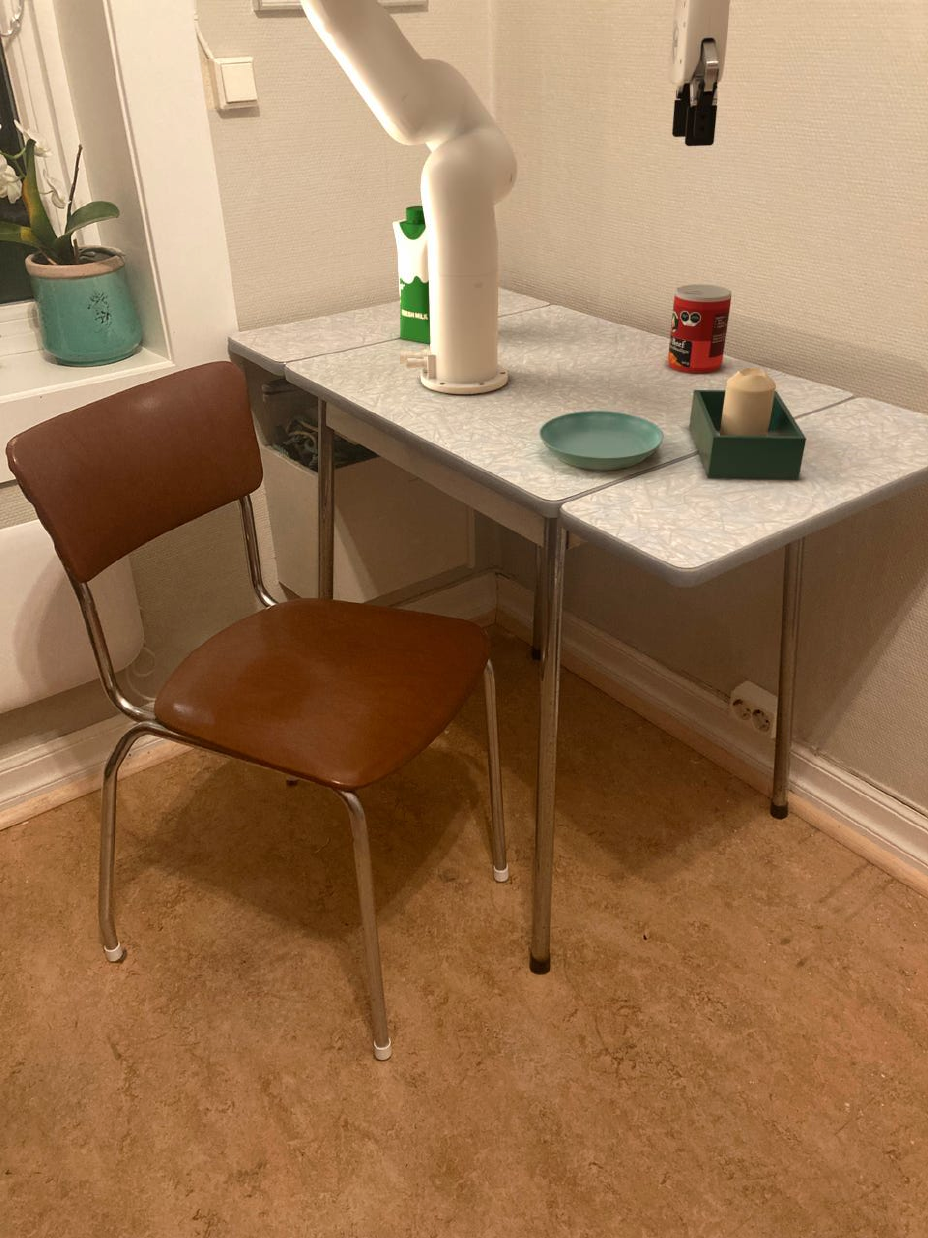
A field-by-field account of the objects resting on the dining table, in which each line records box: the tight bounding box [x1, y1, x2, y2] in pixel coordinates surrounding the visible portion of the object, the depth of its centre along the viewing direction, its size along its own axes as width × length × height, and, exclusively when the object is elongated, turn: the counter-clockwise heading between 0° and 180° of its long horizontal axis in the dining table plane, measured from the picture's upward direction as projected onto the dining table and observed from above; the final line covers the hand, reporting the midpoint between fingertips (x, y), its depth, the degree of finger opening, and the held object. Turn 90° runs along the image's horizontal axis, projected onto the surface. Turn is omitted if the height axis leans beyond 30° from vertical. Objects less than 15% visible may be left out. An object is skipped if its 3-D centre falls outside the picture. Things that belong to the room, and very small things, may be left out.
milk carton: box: [392, 205, 431, 345], centre depth 153 cm, size 9×9×20 cm
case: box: [688, 389, 807, 481], centre depth 115 cm, size 10×16×5 cm, turn 176°
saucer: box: [538, 410, 664, 471], centre depth 115 cm, size 15×15×3 cm
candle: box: [719, 367, 777, 436], centre depth 113 cm, size 6×6×10 cm
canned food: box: [667, 283, 732, 374], centre depth 141 cm, size 8×8×11 cm
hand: (691, 140), depth 114 cm, fingers open, 9 cm apart
